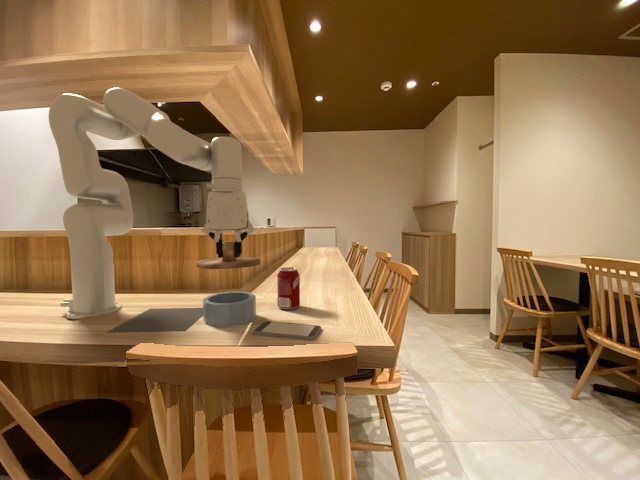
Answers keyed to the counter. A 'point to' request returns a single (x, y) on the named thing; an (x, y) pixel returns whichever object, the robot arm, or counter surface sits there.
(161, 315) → the mat
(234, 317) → the bowl
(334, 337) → the counter surface
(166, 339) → the counter surface
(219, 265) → the lid
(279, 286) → the soda can
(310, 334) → the smartphone
